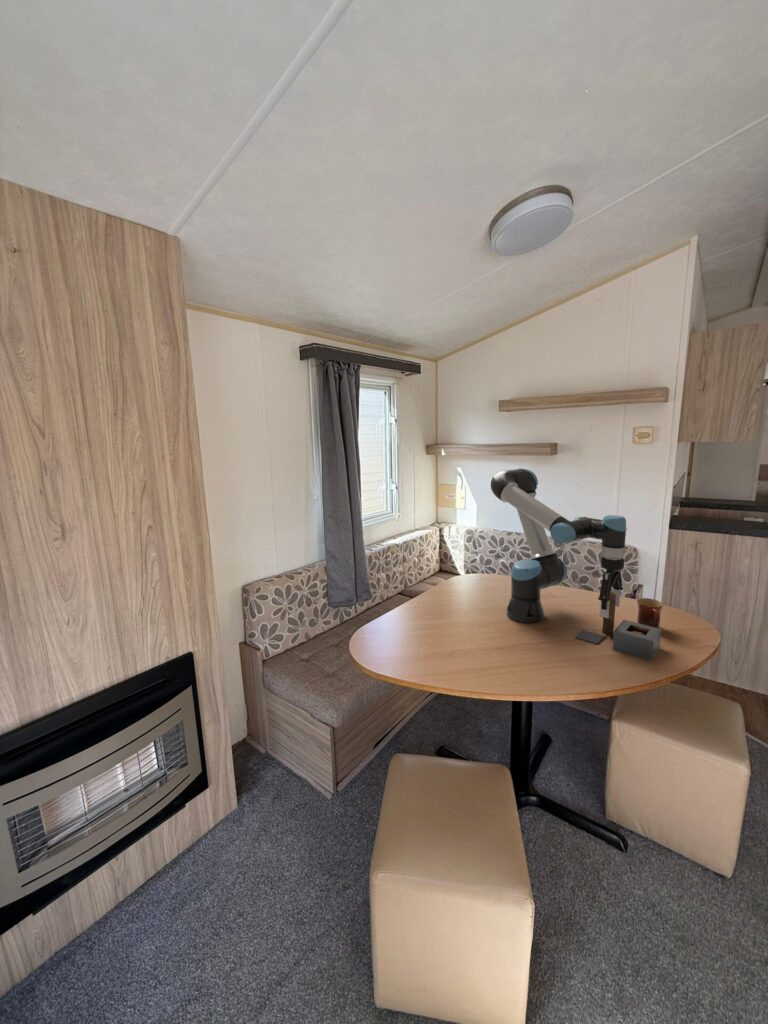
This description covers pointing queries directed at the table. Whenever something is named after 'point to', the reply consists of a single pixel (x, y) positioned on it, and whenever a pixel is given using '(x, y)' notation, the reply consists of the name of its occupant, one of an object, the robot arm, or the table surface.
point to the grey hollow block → (637, 639)
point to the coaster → (589, 636)
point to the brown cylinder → (610, 616)
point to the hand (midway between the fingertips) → (610, 611)
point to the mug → (649, 612)
